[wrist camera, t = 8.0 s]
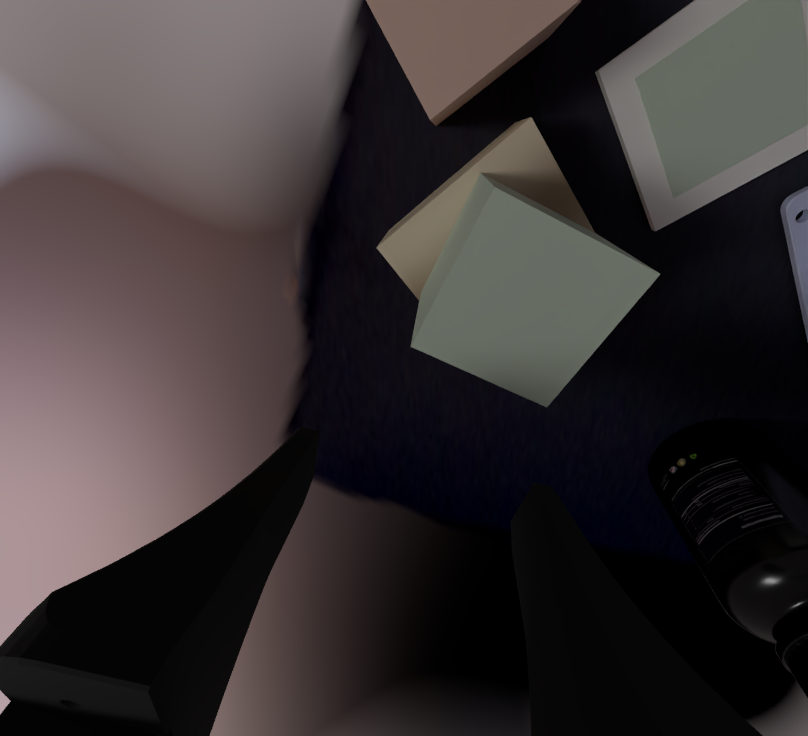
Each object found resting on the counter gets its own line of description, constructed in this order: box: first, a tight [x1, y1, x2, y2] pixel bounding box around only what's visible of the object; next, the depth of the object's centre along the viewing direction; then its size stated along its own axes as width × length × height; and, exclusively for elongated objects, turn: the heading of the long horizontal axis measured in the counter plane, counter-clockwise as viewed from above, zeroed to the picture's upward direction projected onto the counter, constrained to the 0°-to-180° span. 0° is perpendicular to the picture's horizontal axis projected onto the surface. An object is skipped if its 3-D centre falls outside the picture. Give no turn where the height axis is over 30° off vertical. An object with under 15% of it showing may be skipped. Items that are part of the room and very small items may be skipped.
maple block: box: [377, 117, 595, 301], centre depth 17 cm, size 7×7×4 cm
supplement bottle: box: [648, 421, 808, 698], centre depth 18 cm, size 7×7×12 cm
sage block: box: [411, 173, 660, 407], centre depth 13 cm, size 5×5×5 cm
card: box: [595, 0, 808, 231], centre depth 14 cm, size 7×7×1 cm
